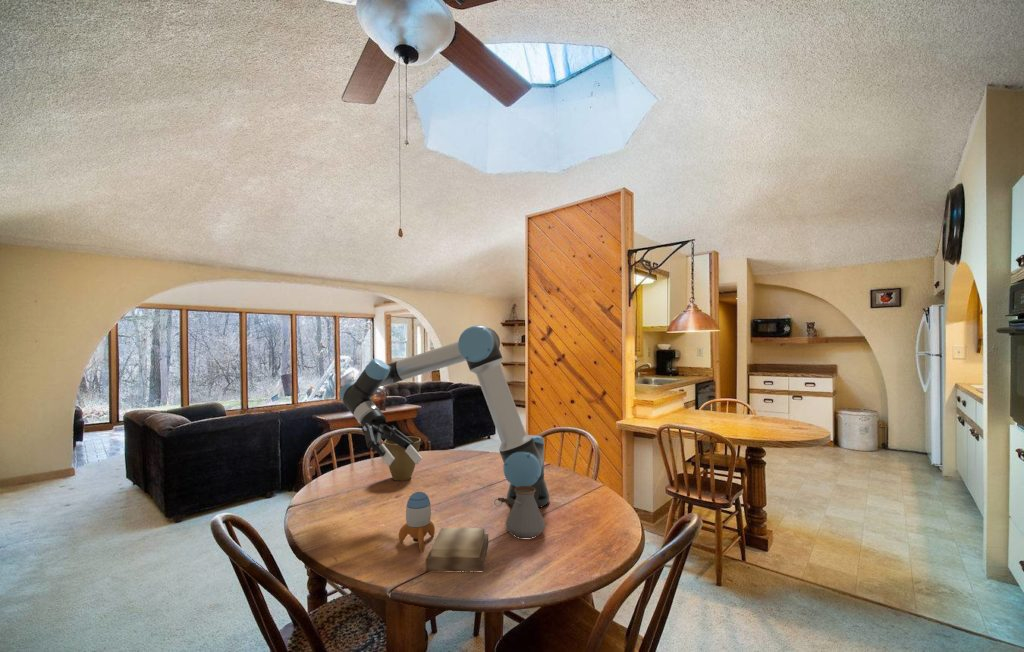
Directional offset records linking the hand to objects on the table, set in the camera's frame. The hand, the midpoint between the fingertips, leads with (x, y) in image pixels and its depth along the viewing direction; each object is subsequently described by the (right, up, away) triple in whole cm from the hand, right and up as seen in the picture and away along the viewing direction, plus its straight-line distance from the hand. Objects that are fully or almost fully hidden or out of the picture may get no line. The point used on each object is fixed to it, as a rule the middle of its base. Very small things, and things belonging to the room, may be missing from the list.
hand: (406, 461), depth 129 cm
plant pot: (-13, -22, +46) cm, 53 cm away
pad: (+19, -18, -20) cm, 33 cm away
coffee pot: (+34, -19, -11) cm, 41 cm away
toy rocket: (+5, -19, -12) cm, 23 cm away
